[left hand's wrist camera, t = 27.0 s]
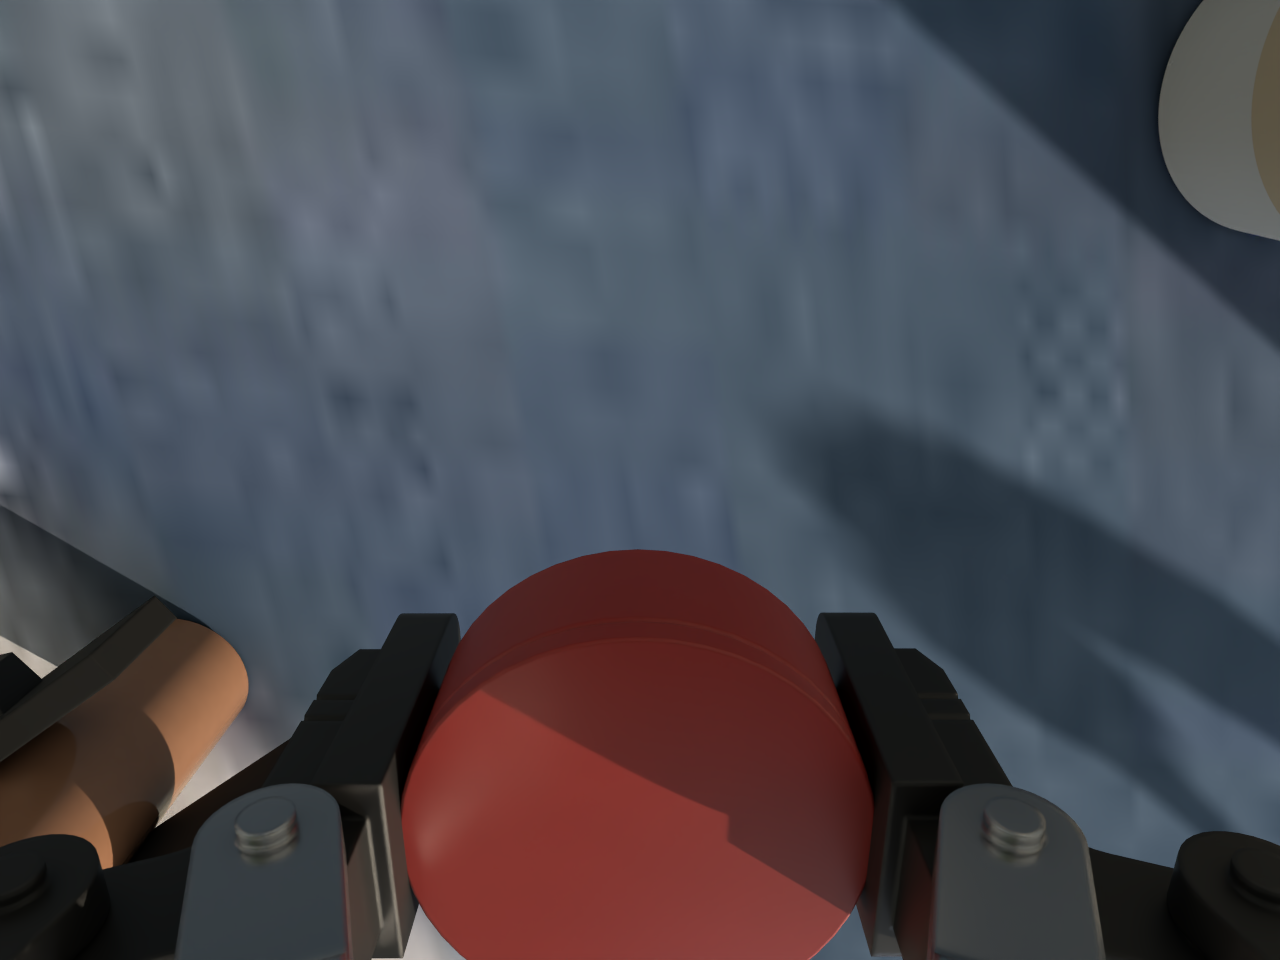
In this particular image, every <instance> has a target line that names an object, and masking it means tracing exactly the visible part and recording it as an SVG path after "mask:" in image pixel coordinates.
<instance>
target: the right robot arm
mask: <svg viewBox="0 0 1280 960" xmlns="http://www.w3.org/2000/svg"><path fill="white" fill-rule="evenodd" d="M176 619H177V617H176V616H175V615H174V614H173V613H172V612H171V611H170V610H169V609H168V608H167V607H166V606H165V605H164V604H163V603H161V602H160V601H159V600H158V599H157V598H156V597H155V596H154V597H152V598H151V599H149V600H148V601H147V602H145V603H144V604H143V605H141V606H140V607H139V608H137V609H136V610H135V611H133V612H132V613H130V614H129V615H128V616H126V617H125V618H124V619H122V620H121V621H120V622H118V623H117V624H116V625H114V626H113V627H111V628H110V629H109V630H107V631H106V632H105V633H103V634H102V635H101V636H99V637H98V638H97V639H95V640H94V641H92V642H91V643H90V644H88V645H87V646H86V647H84V648H83V649H82V650H80V651H79V652H78V653H76V654H75V655H73V656H72V657H71V658H69V659H68V660H67V661H65V662H64V663H63V664H61V665H60V666H59V667H57V668H56V669H54V670H53V671H52V672H50V673H49V674H48V675H46V676H45V677H44V678H42V679H41V678H40V677H39V676H38V675H37V674H36V673H35V672H33V671H32V670H31V669H30V668H29V667H28V666H27V665H26V664H25V663H24V662H22V661H21V660H20V659H19V658H18V657H17V656H16V655H15V654H14V653H13V652H11V653H6V654H2V655H0V762H1V761H2V760H4V759H5V758H7V757H8V756H9V755H11V754H12V753H14V752H15V751H16V750H18V749H19V748H21V747H22V746H23V745H25V744H26V743H28V742H29V741H30V740H32V739H33V738H34V737H36V736H37V735H39V734H40V733H41V732H43V731H44V730H46V729H47V728H48V727H50V726H51V725H53V724H54V723H55V722H57V721H58V720H60V719H61V718H62V717H64V716H65V715H66V714H68V713H69V712H71V711H72V710H73V709H75V708H76V707H78V706H79V705H80V704H82V703H83V702H85V701H86V700H87V699H89V698H90V697H92V696H93V695H94V694H96V693H97V692H98V691H100V690H101V689H103V688H104V687H105V686H107V685H108V684H110V683H111V682H112V681H114V680H115V679H116V678H117V677H118V676H119V675H120V674H121V673H122V672H123V671H124V670H125V669H126V668H127V667H128V666H129V665H130V664H131V663H132V662H133V661H134V660H135V659H136V658H137V657H138V656H139V655H140V654H141V653H142V652H143V651H144V650H145V649H146V648H147V647H148V646H149V645H151V644H152V643H153V642H154V641H155V640H156V639H157V638H158V637H159V636H160V635H161V634H162V633H163V632H164V631H165V630H166V629H167V628H168V627H169V626H170V625H171V624H172V623H173V622H174V621H175V620H176ZM290 739H291V738H290ZM290 739H289V740H287V741H286V742H284V743H283V744H281V745H280V746H278V747H277V748H275V749H274V750H272V751H271V752H269V753H268V754H266V755H265V756H263V757H262V758H260V759H259V760H257V761H256V762H254V763H253V764H251V765H250V766H248V767H247V768H245V769H244V770H242V771H241V772H239V773H237V774H236V775H234V776H233V777H231V778H230V779H228V780H227V781H225V782H224V783H222V784H221V785H219V786H218V787H216V788H215V789H213V790H212V791H210V792H209V793H207V794H206V795H204V796H203V797H201V798H200V799H198V800H197V801H195V802H194V803H192V804H191V805H189V806H188V807H186V808H185V809H183V810H182V811H180V812H178V813H177V814H175V815H174V816H172V817H171V818H169V819H168V820H166V821H165V822H163V823H162V824H160V825H159V826H157V827H156V828H154V830H153V831H152V832H151V834H150V835H149V837H148V838H147V839H146V841H145V842H144V843H143V845H142V846H141V847H140V849H139V850H138V852H137V853H136V854H135V856H134V857H133V858H132V860H131V861H130V862H129V863H132V862H136V861H141V860H145V859H149V858H154V857H158V856H162V855H166V854H170V853H173V852H177V851H180V850H183V849H185V848H188V847H191V846H192V844H193V841H194V838H195V836H196V834H197V832H198V830H199V829H200V828H201V826H202V825H203V824H204V822H205V821H206V820H207V819H208V818H209V817H210V816H211V815H212V814H213V813H215V812H216V811H217V810H219V809H220V808H221V807H223V806H224V805H226V804H227V803H229V802H230V801H232V800H234V799H236V798H238V797H240V796H242V795H244V794H246V793H249V792H252V791H254V790H257V789H260V788H261V787H262V785H263V784H264V782H265V780H266V779H267V777H268V775H269V774H270V772H271V770H272V769H273V767H274V765H275V764H276V762H277V760H278V759H279V757H280V755H281V754H282V752H283V750H284V749H285V747H286V745H287V744H288V742H289V741H290Z"/></svg>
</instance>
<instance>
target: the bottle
mask: <svg viewBox="0 0 1280 960" xmlns="http://www.w3.org/2000/svg"><path fill="white" fill-rule="evenodd" d="M247 695H248V677H247V672H246V669H245V666H244V664H243V662H242V660H241V658H240V656H239V655H238V653H237V652H236V651H235V649H234V648H233V647H232V646H231V645H230V644H229V643H228V642H227V641H226V640H225V639H224V638H223V637H221V636H220V635H218V634H217V633H216V632H214V631H212V630H211V629H209V628H207V627H205V626H202V625H200V624H198V623H194V622H191V621H187V620H182V619H176V620H175V621H174V622H173V623H172V624H171V625H170V626H169V627H168V628H167V629H166V630H165V631H164V632H163V633H162V634H161V635H160V636H159V637H158V638H157V639H156V640H155V641H154V642H153V643H152V644H151V645H149V646H148V647H147V648H146V649H145V650H144V651H143V652H142V653H141V654H140V655H139V656H138V657H137V658H136V659H135V660H134V661H133V662H132V663H131V664H130V665H129V666H128V667H127V668H126V669H125V670H124V671H123V672H122V673H121V674H120V675H119V676H118V677H117V678H116V679H115V680H114V681H112V682H111V683H110V684H108V685H107V686H105V687H104V688H103V689H101V690H100V691H98V692H97V693H96V694H94V695H93V696H92V697H90V698H89V699H87V700H86V701H85V702H83V703H82V704H80V705H79V706H78V707H76V708H75V709H73V710H72V711H71V712H69V713H68V714H66V715H65V716H64V717H62V718H61V719H60V720H58V721H57V722H55V723H54V724H53V725H51V726H50V727H48V728H47V729H46V730H44V731H43V732H41V733H40V734H39V735H37V736H36V737H34V738H33V739H32V740H30V741H29V742H28V743H26V744H25V745H23V746H22V747H21V748H19V749H18V750H16V751H15V752H14V753H12V754H11V755H9V756H8V757H7V758H5V759H4V760H2V761H1V762H0V847H2V846H5V845H7V844H10V843H13V842H16V841H19V840H22V839H26V838H31V837H35V836H41V835H48V834H68V835H75V836H78V837H81V838H84V839H86V840H87V841H89V842H91V843H92V845H93V846H94V847H95V848H96V850H97V853H98V855H99V859H100V863H101V866H102V869H106V868H110V867H115V866H119V865H123V864H128V863H129V862H130V861H131V860H132V858H133V857H134V856H135V854H136V853H137V852H138V850H139V849H140V847H141V846H142V845H143V843H144V842H145V841H146V839H147V838H148V837H149V835H150V834H151V832H152V831H153V830H154V828H155V827H156V826H157V824H158V823H159V822H160V820H161V819H162V817H163V816H164V815H165V813H166V812H167V811H168V809H169V808H170V807H171V805H172V804H173V803H174V801H175V800H176V798H177V797H178V796H179V794H180V793H181V792H182V790H183V789H184V788H185V786H186V785H187V783H188V782H189V781H190V779H191V778H192V777H193V775H194V774H195V773H196V771H197V770H198V768H199V767H200V766H201V764H202V763H203V762H204V760H205V759H206V758H207V756H208V755H209V753H210V752H211V751H212V749H213V748H214V747H215V745H216V744H217V743H218V741H219V740H220V738H221V737H222V736H223V734H224V733H225V732H226V730H227V729H228V728H229V726H230V725H231V723H232V722H233V721H234V719H235V718H236V717H237V715H238V714H239V713H240V711H241V709H242V708H243V706H244V704H245V702H246V699H247Z"/></svg>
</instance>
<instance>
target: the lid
mask: <svg viewBox="0 0 1280 960" xmlns="http://www.w3.org/2000/svg"><path fill="white" fill-rule="evenodd" d="M873 816H874V795H873V791H872V788H871V785H870V781H869V778H868V775H867V771H866V768H865V766H864V763H863V760H862V757H861V755H860V752H859V750H858V747H857V744H856V741H855V738H854V736H853V733H852V730H851V728H850V725H849V722H848V719H847V717H846V714H845V711H844V709H843V706H842V703H841V700H840V698H839V695H838V692H837V690H836V687H835V684H834V681H833V679H832V676H831V673H830V671H829V668H828V665H827V663H826V661H825V659H824V657H823V655H822V653H821V651H820V649H819V646H818V644H817V643H816V641H815V640H814V638H813V637H812V635H811V634H810V633H809V631H808V630H807V628H806V627H805V625H804V624H803V623H802V622H801V621H800V619H799V618H798V617H797V616H796V615H795V614H794V613H793V612H792V611H791V610H790V609H789V608H788V606H787V605H785V604H784V603H783V602H782V601H780V600H779V599H778V598H777V597H776V596H774V595H773V594H772V593H771V592H769V591H768V590H767V589H765V588H764V587H762V586H761V585H759V584H757V583H756V582H754V581H752V580H751V579H749V578H748V577H746V576H744V575H742V574H740V573H738V572H735V571H733V570H731V569H729V568H727V567H724V566H722V565H720V564H717V563H714V562H710V561H707V560H704V559H701V558H698V557H694V556H690V555H684V554H679V553H673V552H668V551H656V550H639V549H637V550H620V551H608V552H602V553H597V554H591V555H586V556H581V557H578V558H575V559H572V560H569V561H565V562H562V563H559V564H556V565H554V566H551V567H549V568H547V569H545V570H543V571H540V572H538V573H536V574H534V575H532V576H530V577H528V578H527V579H525V580H523V581H522V582H520V583H519V584H517V585H515V586H514V587H512V588H510V589H509V590H508V591H506V592H505V593H504V594H503V595H502V596H500V597H499V598H498V599H497V600H495V601H494V602H493V603H492V604H491V605H489V606H488V607H487V609H486V610H485V611H484V612H483V613H482V614H481V615H480V616H479V617H478V618H477V619H476V620H475V622H474V623H473V624H472V625H471V627H470V628H469V629H468V631H467V632H466V634H465V635H464V637H463V638H462V640H461V641H460V643H459V644H458V646H457V648H456V651H455V653H454V655H453V657H452V659H451V661H450V663H449V665H448V668H447V670H446V673H445V676H444V678H443V681H442V684H441V686H440V689H439V692H438V694H437V697H436V700H435V702H434V705H433V708H432V710H431V713H430V716H429V718H428V721H427V724H426V726H425V729H424V732H423V734H422V737H421V740H420V742H419V745H418V748H417V751H416V753H415V756H414V758H413V761H412V764H411V766H410V769H409V772H408V775H407V779H406V782H405V785H404V789H403V792H402V797H401V820H402V830H403V838H404V846H405V855H406V863H407V871H408V877H409V882H410V885H411V887H412V890H413V893H414V895H415V897H416V898H417V900H418V902H419V904H420V906H421V907H422V909H423V911H424V913H425V915H426V916H427V917H428V919H429V920H430V921H431V923H432V924H433V925H434V927H435V928H436V929H437V931H438V932H439V933H440V935H441V936H442V937H443V938H444V939H445V940H446V941H447V942H448V943H449V944H450V945H451V946H452V947H453V948H454V949H455V950H456V951H457V952H458V953H459V954H460V955H461V956H463V957H464V958H465V959H466V960H809V959H810V958H812V957H813V956H814V955H815V954H817V953H818V952H819V951H820V950H821V949H822V948H823V947H824V945H825V944H826V943H827V942H828V941H829V940H830V939H831V938H832V937H833V936H834V935H835V934H836V933H837V931H838V930H839V929H840V927H841V926H842V925H843V923H844V922H845V921H846V919H847V918H848V917H849V915H850V914H851V912H852V910H853V908H854V906H855V905H856V903H857V901H858V899H859V897H860V896H861V894H862V891H863V889H864V886H865V882H866V876H867V868H868V860H869V851H870V843H871V834H872V825H873Z"/></svg>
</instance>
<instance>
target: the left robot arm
mask: <svg viewBox="0 0 1280 960" xmlns="http://www.w3.org/2000/svg"><path fill="white" fill-rule="evenodd" d="M460 641H461V638H460V628H459V622H458V618H457V616H456V614H454V613H403V614H400V615H399V616H398V618H397V620H396V622H395V624H394V626H393V627H392V629H391V631H390V633H389V635H388V637H387V639H386V641H385V643H384V645H383V646H382V648H381V649H360V650H358V651H357V652H356V653H354V654H353V655H352V656H350V657H349V658H348V659H346V660H345V661H344V662H342V663H341V664H340V665H338V666H337V667H336V668H334V669H333V670H332V671H331V672H330V674H329V676H328V677H327V679H326V681H325V682H324V684H323V686H322V687H321V689H320V691H319V692H318V694H317V700H314V701H313V702H312V704H311V706H310V707H309V709H308V711H307V712H306V714H305V718H304V721H301V722H300V724H299V726H298V727H297V729H296V731H295V732H294V734H293V736H292V737H291V739H290V741H289V742H288V744H287V745H286V747H285V749H284V750H283V752H282V754H281V755H280V757H279V759H278V760H277V762H276V764H275V765H274V767H273V769H272V770H271V772H270V774H269V775H268V777H267V779H266V780H265V782H264V784H263V785H262V787H261V788H260V789H257V790H254V791H252V792H249V793H246V794H244V795H242V796H240V797H238V798H236V799H234V800H232V801H230V802H229V803H227V804H226V805H224V806H223V807H221V808H220V809H219V810H217V811H216V812H215V813H213V814H212V815H211V816H210V817H209V818H208V819H207V820H206V821H205V822H204V824H203V825H202V826H201V828H200V829H199V830H198V832H197V834H196V836H195V838H194V841H193V844H192V846H191V847H188V848H185V849H183V850H180V851H177V852H173V853H170V854H166V855H162V856H158V857H154V858H149V859H145V860H141V861H136V862H132V863H128V864H123V865H119V866H115V867H110V868H106V869H102V866H101V863H100V859H99V855H98V853H97V850H96V848H95V847H94V846H93V845H92V843H91V842H89V841H87V840H86V839H84V838H81V837H78V836H75V835H68V834H48V835H41V836H35V837H31V838H26V839H22V840H19V841H16V842H13V843H10V844H7V845H5V846H2V847H0V960H371V959H372V958H403V956H404V952H405V949H406V946H407V942H408V939H409V936H410V932H411V929H412V925H413V922H414V919H415V915H416V912H417V909H418V905H419V902H418V900H417V898H416V897H415V895H414V893H413V890H412V887H411V885H410V882H409V877H408V871H407V863H406V855H405V846H404V838H403V830H402V820H401V797H402V792H403V789H404V785H405V782H406V779H407V775H408V772H409V769H410V766H411V764H412V761H413V758H414V756H415V753H416V751H417V748H418V745H419V742H420V740H421V737H422V734H423V732H424V729H425V726H426V724H427V721H428V718H429V716H430V713H431V710H432V708H433V705H434V702H435V700H436V697H437V694H438V692H439V689H440V686H441V684H442V681H443V678H444V676H445V673H446V670H447V668H448V665H449V663H450V661H451V659H452V657H453V655H454V653H455V651H456V648H457V646H458V644H459V643H460ZM815 641H816V643H817V644H818V646H819V649H820V651H821V653H822V655H823V657H824V659H825V661H826V663H827V665H828V668H829V671H830V673H831V676H832V679H833V681H834V684H835V687H836V690H837V692H838V695H839V698H840V700H841V703H842V706H843V709H844V711H845V714H846V717H847V719H848V722H849V725H850V728H851V730H852V733H853V736H854V738H855V741H856V744H857V747H858V750H859V752H860V755H861V757H862V760H863V763H864V766H865V768H866V771H867V775H868V778H869V781H870V785H871V788H872V791H873V795H874V816H873V825H872V834H871V843H870V851H869V860H868V868H867V876H866V882H865V886H864V889H863V891H862V894H861V896H860V897H859V899H858V901H857V903H856V906H857V909H858V912H859V916H860V919H861V923H862V926H863V930H864V933H865V937H866V940H867V944H868V947H869V950H870V954H871V956H878V957H902V958H903V960H1280V846H1279V845H1276V844H1274V843H1271V842H1269V841H1266V840H1263V839H1260V838H1257V837H1253V836H1249V835H1245V834H1240V833H1234V832H1226V831H1211V832H1203V833H1200V834H1196V835H1193V836H1192V837H1190V838H1188V839H1186V840H1185V842H1184V843H1183V844H1182V845H1181V847H1180V849H1179V852H1178V855H1177V859H1176V863H1175V867H1174V868H1170V867H1165V866H1161V865H1157V864H1152V863H1148V862H1144V861H1139V860H1135V859H1131V858H1126V857H1122V856H1118V855H1113V854H1109V853H1105V852H1102V851H1098V850H1095V849H1092V848H1089V847H1088V844H1087V841H1086V838H1085V836H1084V834H1083V832H1082V830H1081V829H1080V828H1079V826H1078V825H1077V824H1076V822H1075V821H1074V820H1073V819H1072V818H1071V817H1070V816H1069V815H1068V814H1067V813H1065V812H1064V811H1063V810H1061V809H1060V808H1059V807H1057V806H1056V805H1054V804H1053V803H1051V802H1050V801H1048V800H1046V799H1044V798H1042V797H1040V796H1038V795H1036V794H1034V793H1031V792H1028V791H1026V790H1023V789H1020V788H1016V787H1013V786H1012V785H1011V783H1010V781H1009V780H1008V778H1007V776H1006V774H1005V773H1004V771H1003V769H1002V768H1001V766H1000V764H999V763H998V761H997V759H996V758H995V756H994V754H993V753H992V751H991V749H990V748H989V746H988V744H987V742H986V741H985V739H984V737H983V736H982V734H981V732H980V731H979V729H978V727H977V726H976V724H975V722H974V721H973V720H970V714H969V712H968V710H967V709H966V707H965V705H964V704H963V702H962V700H961V699H958V694H957V692H956V690H955V689H954V687H953V685H952V684H951V682H950V680H949V678H948V677H947V675H946V673H945V672H944V670H943V669H942V668H940V667H939V666H938V665H936V664H935V663H934V662H933V661H931V660H930V659H929V658H927V657H926V656H925V655H923V654H922V653H921V652H919V651H918V650H917V649H897V648H893V646H892V644H891V642H890V640H889V638H888V636H887V634H886V632H885V630H884V628H883V626H882V624H881V623H880V621H879V619H878V617H877V615H876V614H875V613H820V614H819V616H818V619H817V624H816V632H815Z"/></svg>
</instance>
